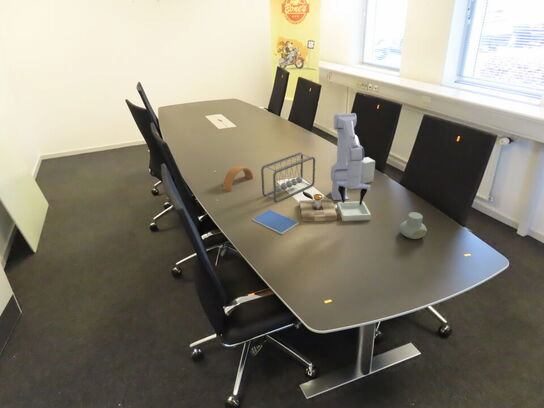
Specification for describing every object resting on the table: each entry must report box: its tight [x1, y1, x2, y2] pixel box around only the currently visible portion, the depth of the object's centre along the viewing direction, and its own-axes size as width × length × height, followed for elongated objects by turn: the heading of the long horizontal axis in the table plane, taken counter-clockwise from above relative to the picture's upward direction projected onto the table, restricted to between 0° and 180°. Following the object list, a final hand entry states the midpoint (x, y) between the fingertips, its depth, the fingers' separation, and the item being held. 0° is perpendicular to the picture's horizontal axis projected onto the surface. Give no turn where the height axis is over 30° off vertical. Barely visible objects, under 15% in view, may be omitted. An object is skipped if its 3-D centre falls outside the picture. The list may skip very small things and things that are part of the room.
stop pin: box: [313, 193, 323, 211], centre depth 173 cm, size 4×4×9 cm
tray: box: [336, 200, 372, 222], centre depth 172 cm, size 13×13×3 cm
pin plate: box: [299, 198, 338, 222], centre depth 174 cm, size 16×16×2 cm
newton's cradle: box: [260, 151, 316, 203], centre depth 191 cm, size 30×10×18 cm, turn 131°
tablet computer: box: [252, 209, 299, 235], centre depth 168 cm, size 19×13×1 cm, turn 47°
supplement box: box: [360, 156, 376, 184], centre depth 201 cm, size 7×7×13 cm
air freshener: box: [399, 211, 428, 240], centre depth 153 cm, size 11×8×10 cm
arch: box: [222, 165, 254, 192], centre depth 203 cm, size 6×20×10 cm, turn 144°
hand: (351, 203), depth 160 cm, fingers open, 7 cm apart
